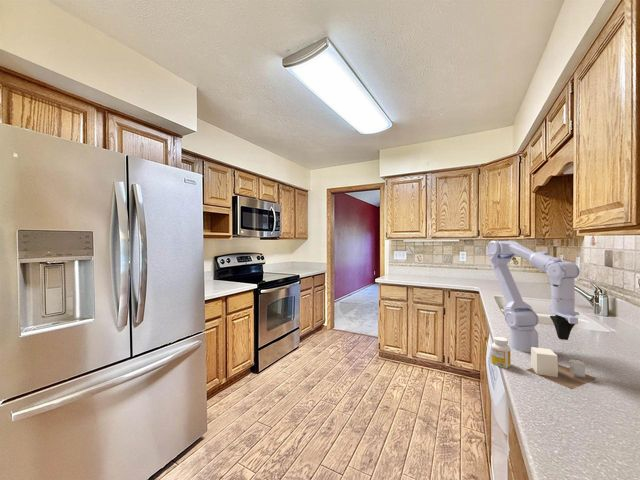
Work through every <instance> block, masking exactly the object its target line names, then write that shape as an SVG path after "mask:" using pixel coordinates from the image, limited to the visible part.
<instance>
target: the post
mask: <svg viewBox="0 0 640 480" xmlns="http://www.w3.org/2000/svg"><path fill="white" fill-rule="evenodd" d="M569 368H570V374H571V375H572V376H573V377H574V378H580V379H585V374H586V364H585V363H584V362H583V361H581V360H580V359H579V360H577V359H569Z"/></svg>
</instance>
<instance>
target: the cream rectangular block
mask: <svg viewBox="0 0 640 480" xmlns="http://www.w3.org/2000/svg"><path fill="white" fill-rule="evenodd" d="M558 359H559V357H558V355H557V354H556V353H555V351H553V350H552V349H551V348H542V347H538V348H536V347H531V352H530V368H533V370H534V371H535V372H536V373H537V374H540V375H547V376H554V377H558V361H559V360H558Z"/></svg>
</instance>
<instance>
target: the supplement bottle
mask: <svg viewBox="0 0 640 480" xmlns="http://www.w3.org/2000/svg"><path fill="white" fill-rule="evenodd" d="M508 342H509V340H508V339H507V338H506V337H502V336H494V337H493V343H491V346H490V347H491V351H490V352H491V363H492V365H494V366H496V367H498V368H502V369H503V368H504V369H508V368H510V367H511V347H510V345H508V344H509V343H508Z"/></svg>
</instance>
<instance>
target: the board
mask: <svg viewBox="0 0 640 480" xmlns="http://www.w3.org/2000/svg"><path fill="white" fill-rule="evenodd" d="M526 371H527V372H529V373H531V374H534V375H537V376H539V377H541V378H544V379H546V380H548V381H552V382H554V383H556V384H559V385H560V386H563V387H566V388H567V389H571V390H573V389H575V388H578V387H581V386H583V385H585V384H587V383H589V382H591V381H593V380H596V379H597V377H596V376H592V375H589V374H587V373H585V379H580V378H574V377H573V376H572V375H571V374H570V367H567V366H564V365H562V364H558V377H554V376H547V375H540V374H537V373H536V372H535V371H534V370H533V368H532V367H530V368H526Z"/></svg>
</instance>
